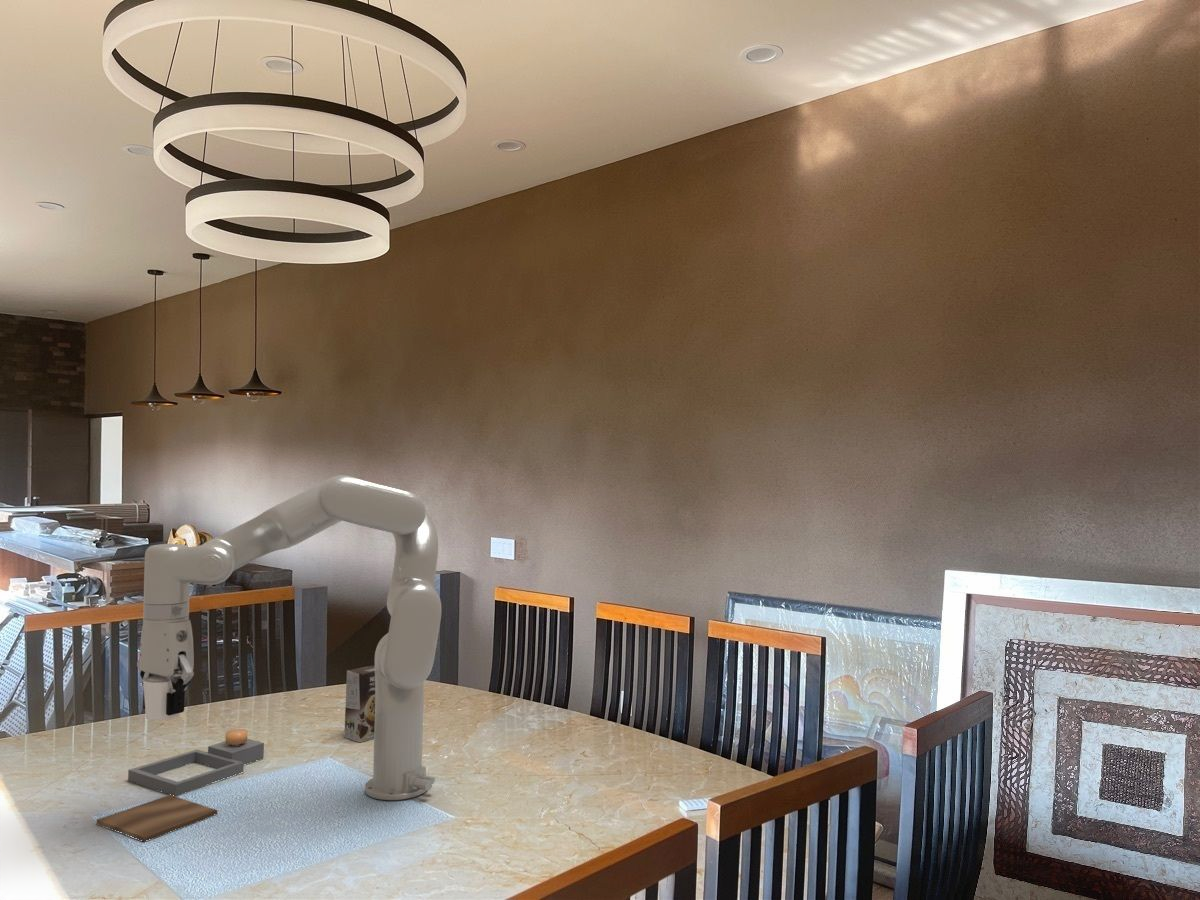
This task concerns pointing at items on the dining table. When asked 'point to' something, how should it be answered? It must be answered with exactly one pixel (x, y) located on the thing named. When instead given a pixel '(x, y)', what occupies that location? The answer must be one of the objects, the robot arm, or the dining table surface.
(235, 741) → the orange rounded piece
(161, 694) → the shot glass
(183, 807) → the walnut mat
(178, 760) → the housing
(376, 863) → the dining table surface
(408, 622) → the robot arm
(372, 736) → the coffee box
